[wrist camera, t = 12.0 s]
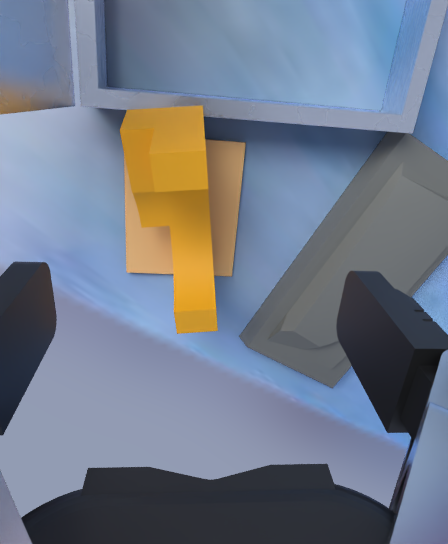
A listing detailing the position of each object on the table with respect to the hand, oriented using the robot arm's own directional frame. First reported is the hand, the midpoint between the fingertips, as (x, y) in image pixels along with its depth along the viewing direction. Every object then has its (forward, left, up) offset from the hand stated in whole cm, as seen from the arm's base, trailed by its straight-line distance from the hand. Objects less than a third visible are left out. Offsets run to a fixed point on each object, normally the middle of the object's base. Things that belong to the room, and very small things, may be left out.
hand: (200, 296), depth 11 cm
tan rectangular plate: (0, +4, -19) cm, 19 cm away
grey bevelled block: (-14, +8, -20) cm, 25 cm away
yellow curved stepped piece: (+1, +2, -17) cm, 18 cm away
